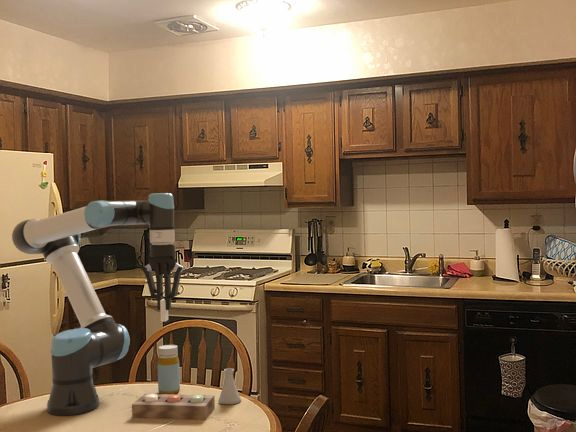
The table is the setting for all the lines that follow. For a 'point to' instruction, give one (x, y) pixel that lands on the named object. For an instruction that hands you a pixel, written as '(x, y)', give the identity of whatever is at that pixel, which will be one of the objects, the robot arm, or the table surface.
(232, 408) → the table surface
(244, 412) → the table surface
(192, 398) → the button sage
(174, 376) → the bottle
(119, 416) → the table surface
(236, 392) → the flask
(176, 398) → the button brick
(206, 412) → the console
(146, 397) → the button ivory
